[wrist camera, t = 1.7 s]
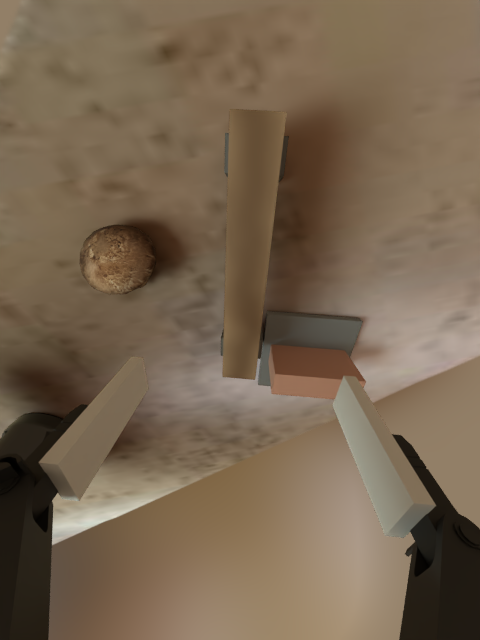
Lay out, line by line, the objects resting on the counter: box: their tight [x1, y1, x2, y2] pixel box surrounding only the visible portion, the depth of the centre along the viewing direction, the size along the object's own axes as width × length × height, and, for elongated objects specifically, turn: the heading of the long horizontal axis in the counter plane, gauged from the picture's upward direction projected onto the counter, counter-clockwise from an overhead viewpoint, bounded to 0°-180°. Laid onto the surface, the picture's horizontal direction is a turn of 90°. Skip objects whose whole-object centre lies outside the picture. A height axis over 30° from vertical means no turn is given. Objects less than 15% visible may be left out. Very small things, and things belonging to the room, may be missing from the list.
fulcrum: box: [258, 311, 366, 399], centre depth 27 cm, size 12×12×7 cm
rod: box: [223, 109, 287, 380], centre depth 20 cm, size 4×22×4 cm, turn 177°
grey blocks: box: [221, 133, 289, 359], centre depth 23 cm, size 5×22×4 cm, turn 177°
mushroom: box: [80, 225, 156, 294], centre depth 23 cm, size 8×8×6 cm
